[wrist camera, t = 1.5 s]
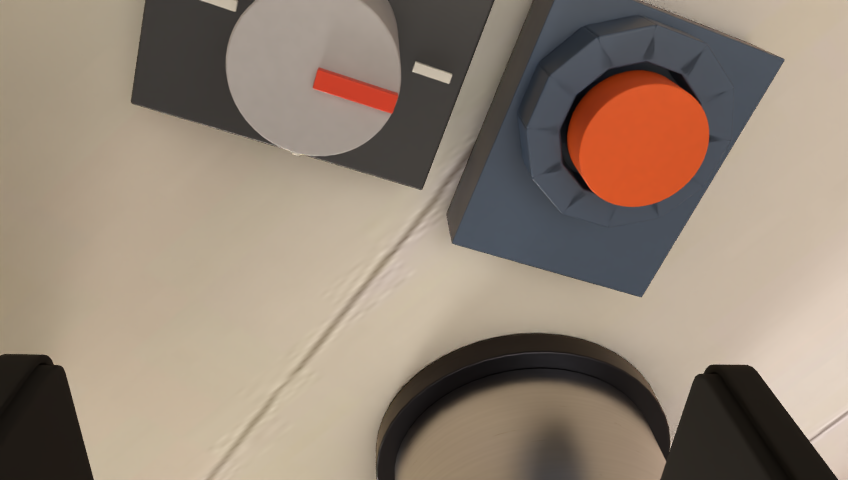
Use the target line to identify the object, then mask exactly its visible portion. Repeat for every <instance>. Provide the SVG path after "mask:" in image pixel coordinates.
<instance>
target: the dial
mask: <svg viewBox="0 0 848 480" xmlns="http://www.w3.org/2000/svg"><path fill="white" fill-rule="evenodd" d="M226 74H227V81H228V85H229V89H230V92H231V95H232V97H233V100H234V102H235V104H236V106H237V107H238V109H239V111H240V113H241V114H242V115H243V117H244V118H245V120H246V121H247V122H248V123H249V124H250V125H251V126H252V127H253V129H254V130H255V131H257V132H258V133H259V134H260V135H261V136H263V137H264V138H265V139H267V140H268V141H270V142H271V143H273V144H275V145H277V146H279V147H281V148H283V149H285V150H288V151H291V152H294V153H298V154H302V155H309V156H329V155H337V154H340V153H344V152H347V151H350V150H352V149H355V148H357V147H359V146H361V145H362V144H364V143H366V142H367V141H368V140H370V139H371V138H372V137H374V136H375V135H376V134H377V133H378V132H379V131H380V130H381V129H382V127H383V126H384V125H385V124H386V122H387V121H388V119H389V118H390V116H391V114H392V113H393V111H394V108H395V105H396V103H397V100H398V96H399V92H400V86H401V62H400V51H399V39H398V29H397V23H396V19H395V15H394V12H393V10H392V7H391V5H390V3H389V1H388V0H255V1H254V2H253V3H252V4H251V5H250V6H249V7H248V8H247V9H246V10H245V11H244V12H243V14H242V15H241V16H240V18H239V19H238V21H237V23H236V24H235V26H234V29H233V31H232V33H231V35H230V39H229V42H228V46H227V53H226Z"/></svg>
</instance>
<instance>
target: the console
mask: <svg viewBox="0 0 848 480" xmlns="http://www.w3.org/2000/svg"><path fill="white" fill-rule="evenodd" d="M254 1H255V0H145V7H144V14H143V21H142V28H141V35H140V42H139V49H138V55H137V62H136V69H135V76H134V83H133V90H132V97H131V103H132V104H135V105H138V106H141V107H145V108H148V109H151V110H155V111H158V112H161V113H165V114H168V115H172V116H175V117H178V118H182V119H185V120H188V121H192V122H195V123H198V124H202V125H205V126H208V127H212V128H215V129H218V130H222V131H225V132H228V133H232V134H235V135H238V136H242V137H245V138H249V139H252V140H255V141H259V142H262V143H265V144H269V145H272V146H275V147H279V146H277V145H275V144H273V143H271V142H270V141H268V140H267V139H265V138H264V137H263V136H261V135H260V134H259V133H258V132H257V131H255V130H254V129H253V127H252V126H251V125H250V124H249V123H248V122H247V121H246V120H245V118H244V117H243V115H242V114H241V113H240V111H239V109H238V107H237V106H236V104H235V102H234V100H233V97H232V95H231V92H230V89H229V85H228V81H227V74H226V53H227V46H228V42H229V39H230V35H231V33H232V31H233V29H234V26H235V24H236V23H237V21H238V19H239V18H240V16H241V15H242V14H243V12H244V11H245V10H246V9H247V8H248V7H249V6H250V5H251V4H252V3H253V2H254ZM388 1H389V3H390V5H391V7H392V10H393V12H394V15H395V19H396V23H397V29H398V39H399V51H400V62H401V86H400V92H399V96H398V100H397V103H396V105H395V108H394V111H393V113H392V114H391V116H390V118H389V119H388V121H387V122H386V124H385V125H384V126H383V127H382V129H381V130H380V131H379V132H378V133H377V134H376V135H375V136H374V137H372V138H371V139H370V140H368V141H367V142H366V143H364V144H362V145H361V146H359V147H357V148H355V149H352V150H350V151H347V152H344V153H340V154H337V155H329V156H309V155H305V156H309V157H312V158H315V159H319V160H322V161H326V162H329V163H332V164H336V165H339V166H342V167H346V168H349V169H352V170H356V171H359V172H362V173H366V174H369V175H372V176H376V177H379V178H382V179H386V180H389V181H392V182H396V183H399V184H402V185H406V186H409V187H413V188H416V189H419V190H422V189H423V186H424V184H425V181H426V179H427V176H428V173H429V171H430V168H431V165H432V163H433V160H434V158H435V155H436V152H437V150H438V147H439V144H440V142H441V139H442V137H443V134H444V131H445V129H446V126H447V123H448V121H449V118H450V116H451V113H452V110H453V108H454V105H455V102H456V100H457V97H458V95H459V92H460V89H461V87H462V84H463V81H464V79H465V76H466V74H467V71H468V68H469V66H470V63H471V60H472V58H473V55H474V53H475V50H476V47H477V45H478V42H479V39H480V37H481V34H482V32H483V29H484V26H485V24H486V21H487V18H488V16H489V13H490V11H491V8H492V5H493V3H494V0H388ZM279 148H281V147H279ZM282 149H283V148H282ZM291 154H293V155H297V156H301V154H298V153H294V152H291Z"/></svg>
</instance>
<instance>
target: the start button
mask: <svg viewBox="0 0 848 480" xmlns="http://www.w3.org/2000/svg"><path fill="white" fill-rule="evenodd" d="M708 144H709V125H708V120H707V117H706V114H705V112H704V110H703V108H702V106H701V105H700V104H699V102H698V101H697V100H696V99H695V98H694V97H693V96H692V95H691V94H689V93H688V92H687V91H685V90H684V89H682V88H681V87H679V86H678V85H677V84H675V83H674V82H672V81H671V80H669V79H668V78H666V77H665V76H663V75H660V74H658V73H655V72H651V71H644V70H633V71H625V72H622V73H618V74H615V75H613V76H610V77H608V78H606V79H604V80H603V81H601V82H600V83H598V84H597V85H595V86H594V87H593V88H592V89H591V90H589V91H588V92H587V93H586V94H585V96H584V97H583V98H582V99H581V100H580V102H579V103H578V105H577V106H576V108H575V110H574V112H573V114H572V117H571V119H570V122H569V126H568V132H567V146H568V152H569V155H570V158H571V160H572V162H573V164H574V166H575V167H576V169H577V170H578V172H579V173H580V175H581V176H582V178H583V179H584V181H585V182H586V184H587V185H588V187H589V188H590V189H591V190H592V191H593V192H594V193H595V194H596V195H597V196H599V197H600V198H601V199H603V200H605V201H607V202H609V203H612V204H615V205H619V206H625V207H640V206H646V205H651V204H654V203H657V202H660V201H662V200H664V199H666V198H668V197H670V196H672V195H673V194H675V193H676V192H678V191H679V190H680V189H682V188H683V187H684V186H685V185H686V184H687V183H688V182H689V181H690V180H691V179H692V178H693V176H694V175H695V174H696V172H697V171H698V169H699V168H700V166H701V164H702V162H703V160H704V158H705V155H706V152H707V148H708Z"/></svg>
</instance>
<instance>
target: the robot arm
mask: <svg viewBox="0 0 848 480" xmlns="http://www.w3.org/2000/svg"><path fill="white" fill-rule="evenodd" d="M0 480H94V479H93V475H92V471H91V468H90V464H89V460H88V456H87V453H86V449H85V445H84V441H83V437H82V434H81V430H80V426H79V422H78V419H77V415H76V411H75V407H74V403H73V400H72V396H71V392H70V388H69V384H68V381H67V377H66V373H65V371H64V368H63V367H62V366H59V365H54V364H53V362H52V360H51V358H50V357H49V356H47V355H28V354H3V355H1V356H0ZM660 480H838V479H837V478H836V476H835V475H834V474H833V472H832V471H831V470H830V468H829V467H828V466H827V464H826V463H825V462H824V460H823V459H822V458H821V456H820V455H819V454H818V452H817V451H816V450H815V448H814V447H813V446H812V444H811V443H810V442H809V440H808V439H807V438H806V436H805V435H804V434H803V432H802V431H801V430H800V428H799V427H798V426H797V424H796V423H795V422H794V420H793V419H792V418H791V416H790V415H789V414H788V412H787V411H786V410H785V408H784V407H783V406H782V404H781V403H780V402H779V400H778V399H777V398H776V396H775V395H774V394H773V392H772V391H771V390H770V388H769V387H768V386H767V384H766V383H765V382H764V380H763V379H762V378H761V376H760V375H759V374H758V372H757V371H756V370H755V369H754V368H753V367H751V366H749V365H710V366H708V367H707V368H706V370H705V372H704V374H698V375H697V376H696V377H695V379H694V381H693V383H692V386H691V389H690V392H689V395H688V398H687V401H686V404H685V407H684V410H683V413H682V416H681V419H680V422H679V425H678V428H677V431H676V434H675V437H674V440H673V443H672V446H671V449H670V452H669V455H668V458H667V461H666V464H665V467H664V470H663V473H662V476H661V479H660Z"/></svg>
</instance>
